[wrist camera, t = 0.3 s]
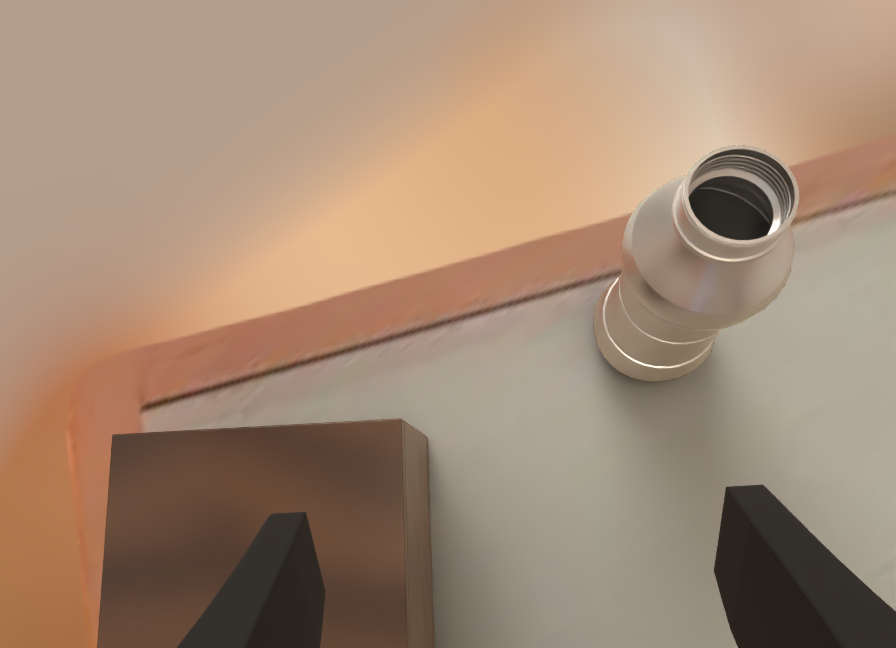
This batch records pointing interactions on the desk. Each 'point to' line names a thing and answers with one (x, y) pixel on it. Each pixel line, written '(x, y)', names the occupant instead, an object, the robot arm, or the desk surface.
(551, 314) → the desk surface
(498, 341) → the desk surface
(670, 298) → the silver metal bottle
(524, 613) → the desk surface
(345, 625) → the cabinet
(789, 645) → the robot arm
